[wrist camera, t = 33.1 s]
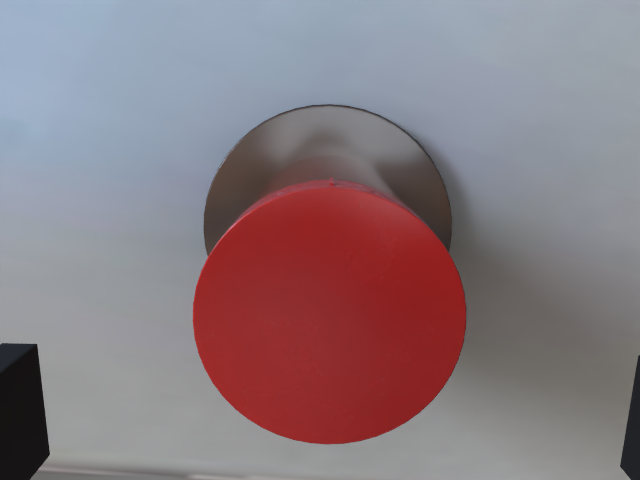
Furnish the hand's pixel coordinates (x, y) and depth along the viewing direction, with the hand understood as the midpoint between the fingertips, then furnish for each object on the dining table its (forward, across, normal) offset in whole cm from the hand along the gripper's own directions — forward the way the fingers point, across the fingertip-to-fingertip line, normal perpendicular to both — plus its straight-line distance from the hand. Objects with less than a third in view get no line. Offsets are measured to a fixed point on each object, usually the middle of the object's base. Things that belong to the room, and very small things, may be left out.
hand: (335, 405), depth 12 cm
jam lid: (+5, 0, 0) cm, 5 cm away
